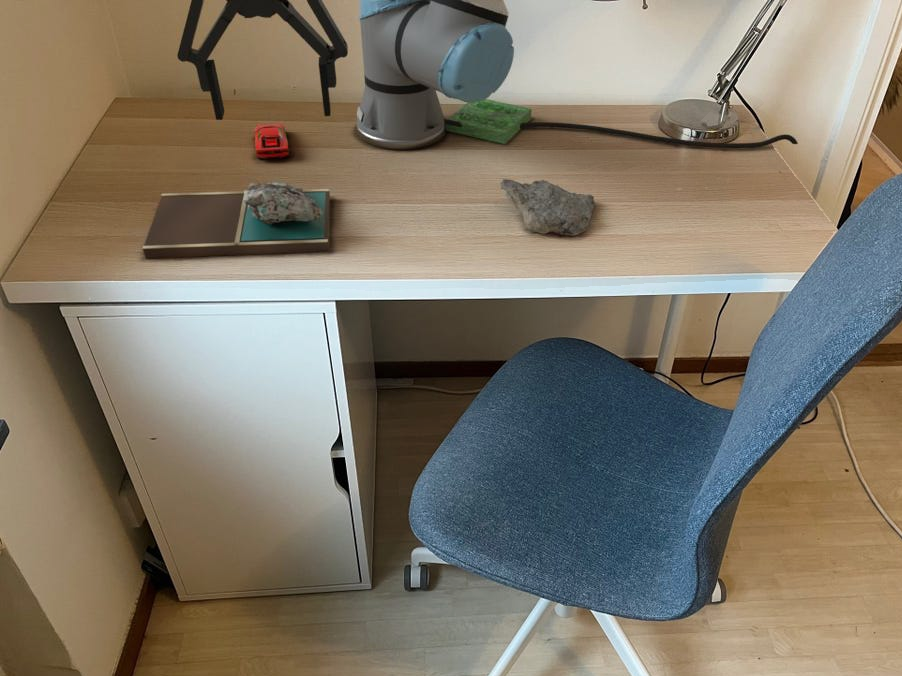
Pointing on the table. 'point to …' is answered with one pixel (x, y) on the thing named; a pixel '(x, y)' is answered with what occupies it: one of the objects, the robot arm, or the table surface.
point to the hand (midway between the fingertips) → (274, 114)
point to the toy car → (271, 141)
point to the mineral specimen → (280, 203)
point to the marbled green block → (490, 120)
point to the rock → (550, 207)
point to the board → (230, 227)
